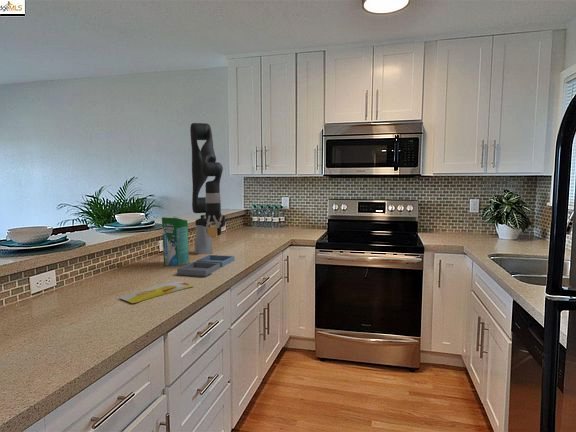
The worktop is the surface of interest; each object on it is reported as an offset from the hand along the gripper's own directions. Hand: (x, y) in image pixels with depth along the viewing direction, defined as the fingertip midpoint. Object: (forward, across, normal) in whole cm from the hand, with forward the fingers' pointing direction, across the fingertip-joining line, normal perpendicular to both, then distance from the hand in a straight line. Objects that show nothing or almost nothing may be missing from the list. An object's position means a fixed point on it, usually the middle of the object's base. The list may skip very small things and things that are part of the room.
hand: (214, 234), depth 190 cm
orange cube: (+1, 0, 0) cm, 1 cm away
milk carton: (+16, -20, -4) cm, 26 cm away
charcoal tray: (+16, 0, -16) cm, 22 cm away
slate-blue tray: (+15, 0, +1) cm, 16 cm away
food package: (+17, 0, -48) cm, 51 cm away
